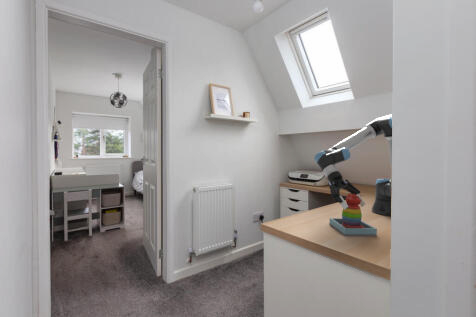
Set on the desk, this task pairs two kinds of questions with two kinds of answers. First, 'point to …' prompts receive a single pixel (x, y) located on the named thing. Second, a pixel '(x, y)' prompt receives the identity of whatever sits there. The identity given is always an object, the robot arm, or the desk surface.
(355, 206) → the stacking bear
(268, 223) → the desk surface
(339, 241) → the desk surface
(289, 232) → the desk surface
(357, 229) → the blue-grey square tray
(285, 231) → the desk surface
